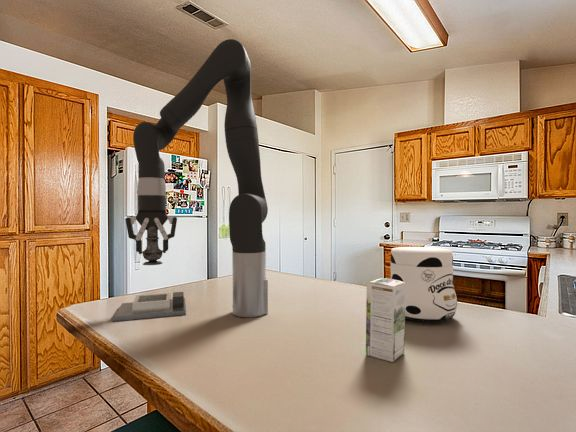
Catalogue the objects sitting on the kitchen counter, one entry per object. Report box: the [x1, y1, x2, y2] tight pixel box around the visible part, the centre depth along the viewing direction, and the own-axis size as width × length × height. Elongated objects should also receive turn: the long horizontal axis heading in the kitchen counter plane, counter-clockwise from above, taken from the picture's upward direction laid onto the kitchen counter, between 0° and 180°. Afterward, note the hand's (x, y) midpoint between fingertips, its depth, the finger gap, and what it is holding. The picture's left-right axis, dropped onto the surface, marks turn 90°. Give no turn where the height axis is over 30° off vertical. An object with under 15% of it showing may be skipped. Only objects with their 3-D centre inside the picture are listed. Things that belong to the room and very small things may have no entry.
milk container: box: [389, 246, 458, 323], centre depth 91 cm, size 17×17×18 cm
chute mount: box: [112, 291, 187, 322], centre depth 97 cm, size 18×14×4 cm
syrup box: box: [365, 277, 406, 363], centre depth 66 cm, size 6×6×14 cm
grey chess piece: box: [142, 227, 163, 266], centre depth 97 cm, size 6×6×12 cm
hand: (152, 252), depth 97 cm, fingers closed on grey chess piece, 6 cm apart
